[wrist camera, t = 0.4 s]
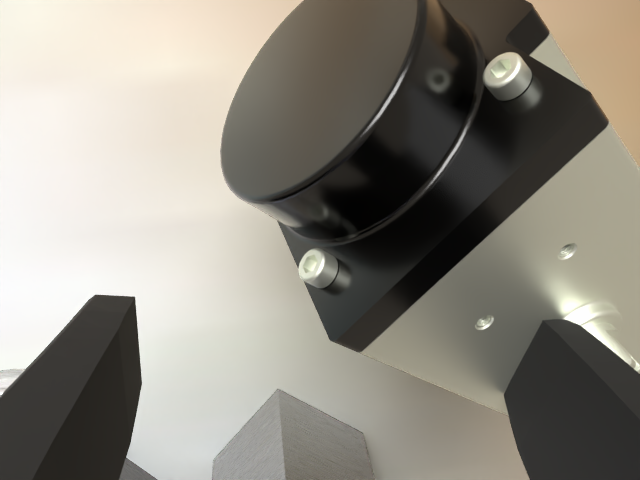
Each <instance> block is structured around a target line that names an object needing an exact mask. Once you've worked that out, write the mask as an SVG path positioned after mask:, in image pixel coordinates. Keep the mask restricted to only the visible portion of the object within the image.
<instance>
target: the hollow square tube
mask: <svg viewBox="0 0 640 480" xmlns="http://www.w3.org/2000/svg"><path fill="white" fill-rule="evenodd" d="M212 480H375V479H374V475H373V471H372V467H371V463H370V459H369V456H368V452H367V448H366V444H365V440H364V436H363V433H362V432H360V431H358V430H356V429H354V428H352V427H350V426H348V425H346V424H344V423H342V422H340V421H338V420H337V419H335V418H333V417H331V416H329V415H327V414H325V413H323V412H321V411H319V410H317V409H315V408H313V407H312V406H310V405H308V404H306V403H304V402H302V401H300V400H298V399H296V398H294V397H292V396H290V395H288V394H287V393H285V392H283V391H281V390H279V389H277V390H276V392H275V393H274V394H273V395H272V396H271V397H270V398H269V399H268V400H267V402H266V403H265V404H264V405H263V406H262V407H261V408H260V409H259V410H258V411H257V413H256V414H255V415H254V416H253V417H252V418H251V419H250V420H249V421H248V422H247V424H246V425H245V426H244V427H243V428H242V429H241V430H240V431H239V432H238V433H237V435H236V436H235V437H234V438H233V439H232V440H231V441H230V442H229V443H228V444H227V446H226V447H225V448H224V449H223V450H222V451H221V452H220V453H219V454H218V455H217V457H216V458H215V459H214V460H213V474H212Z"/></svg>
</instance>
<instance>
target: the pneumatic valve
mask: <svg viewBox="0 0 640 480" xmlns="http://www.w3.org/2000/svg"><path fill="white" fill-rule="evenodd" d="M220 155H221V168H222V172H223V176H224V179H225V181H226V184H227V185H228V187H229V188H230V190H231V191H232V192H233V193H234V194H235V195H236V196H237V197H238V198H240V199H241V200H243V201H245V202H246V203H248V204H250V205H252V206H254V207H255V208H257V209H259V210H261V211H262V212H264V213H266V214H268V215H269V216H271V217H273V218H274V219H276V220H277V221H278V223H279V226H280V228H281V230H282V232H283V235H284V237H285V239H286V242H287V244H288V246H289V248H290V251H291V253H292V255H293V257H294V260H295V262H296V264H297V267H298V269H299V276H300V278H301V279H302V280H303V281H304V282H305V285H306V287H307V289H308V292H309V294H310V296H311V298H312V301H313V303H314V305H315V307H316V310H317V312H318V314H319V316H320V319H321V321H322V323H323V326H324V328H325V330H326V332H327V335H328V337H329V339H330V340H331V341H333V342H335V343H337V344H340V345H342V346H344V347H347V348H349V349H351V350H354V351H356V352H358V353H361V354H363V355H366V356H368V357H370V358H373V359H375V360H377V361H380V362H382V363H384V364H387V365H389V366H391V367H394V368H396V369H398V370H401V371H403V372H406V373H408V374H410V375H413V376H415V377H417V378H420V379H422V380H424V381H427V382H429V383H431V384H434V385H436V386H439V387H441V388H443V389H446V390H448V391H450V392H453V393H455V394H457V395H460V396H462V397H464V398H467V399H469V400H471V401H474V402H476V403H479V404H481V405H483V406H486V407H488V408H490V409H493V410H495V411H497V412H500V413H502V414H504V415H507V416H509V415H508V411H507V407H506V403H505V399H504V393H505V391H506V389H507V387H508V385H509V383H510V380H511V379H512V377H513V375H514V373H515V371H516V369H517V367H518V366H519V364H520V362H521V360H522V358H523V356H524V354H525V353H526V351H527V349H528V347H529V345H530V343H531V341H532V339H533V338H534V336H535V334H536V332H537V330H538V328H539V326H540V325H541V323H542V321H543V320H551V319H566V320H569V321H571V322H574V323H576V324H579V325H580V326H582V327H583V328H584V329H586V330H587V331H588V332H590V333H591V334H592V335H593V336H595V337H596V338H597V339H598V340H600V341H601V342H602V343H603V344H605V345H606V346H607V347H608V348H609V349H611V350H612V351H613V352H614V353H616V354H617V355H618V356H619V357H620V358H622V359H623V360H624V361H625V362H626V363H628V364H629V365H630V366H631V367H632V368H633V369H635V370H636V371H637V372H638V373H639V374H640V167H639V166H638V164H637V163H636V161H635V160H634V158H633V157H632V155H631V154H630V152H629V151H628V149H627V148H626V146H625V144H624V143H623V141H622V140H621V138H620V137H619V135H618V134H617V132H616V131H615V129H614V128H613V126H612V125H611V123H610V121H609V120H608V118H607V117H606V115H605V114H604V112H603V111H602V109H601V108H600V106H599V105H598V103H597V102H596V100H595V98H594V97H593V95H592V94H591V92H589V91H588V89H587V88H586V86H585V85H584V83H583V81H582V80H581V78H580V77H579V75H578V74H577V72H576V71H575V69H574V68H573V66H572V65H571V63H570V62H569V60H568V59H567V57H566V55H565V54H564V52H563V51H562V49H561V48H560V46H559V45H558V43H557V42H556V40H555V39H554V37H553V36H552V34H551V33H550V31H549V30H548V28H547V26H546V25H545V23H544V22H543V20H542V19H541V17H540V16H539V14H538V13H537V11H536V10H535V8H534V7H533V5H532V4H531V3H529V2H527V1H525V0H304V1H303V2H302V3H300V4H299V5H298V6H297V7H296V8H295V9H294V10H293V11H292V12H291V13H290V14H289V15H288V16H287V17H286V19H285V20H284V21H283V22H282V23H281V24H280V25H279V26H278V28H277V29H276V30H275V31H274V32H273V34H272V35H271V36H270V38H269V39H268V40H267V41H266V43H265V44H264V46H263V47H262V48H261V50H260V51H259V53H258V54H257V56H256V57H255V59H254V61H253V62H252V64H251V65H250V67H249V69H248V70H247V72H246V74H245V76H244V78H243V80H242V82H241V83H240V85H239V87H238V89H237V92H236V94H235V96H234V98H233V101H232V103H231V106H230V109H229V111H228V115H227V118H226V121H225V125H224V129H223V134H222V141H221V150H220Z"/></svg>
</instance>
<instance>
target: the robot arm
mask: <svg viewBox="0 0 640 480" xmlns="http://www.w3.org/2000/svg"><path fill="white" fill-rule="evenodd" d="M141 385H142V380H141V367H140V355H139V342H138V330H137V317H136V305H135V297H128V296H109V295H95V296H93V297H92V298H91V299H89V300H88V301H87V303H86V304H85V305H84V306H83V307H82V308H81V309H80V311H79V312H78V313H77V314H76V315H75V316H74V317H73V319H72V320H71V321H70V322H69V323H68V324H67V325H66V326H65V328H64V329H63V330H62V331H61V332H60V333H59V334H58V335H57V336H56V338H55V339H54V340H53V341H52V342H51V343H50V344H49V345H48V346H47V347H46V348H45V349H44V351H43V352H42V353H41V354H40V355H39V356H38V357H37V358H36V359H35V360H34V361H33V362H32V363H31V364H30V365H29V366H28V367H27V368H26V369H25V371H24V372H23V373H22V374H21V375H20V376H19V377H18V378H17V379H16V380H15V381H14V382H13V383H12V384H11V385H10V386H9V387H8V388H7V389H6V390H5V391H4V392H3V393H2V394H1V395H0V480H119V478H120V475H121V472H122V468H123V465H124V462H125V459H126V455H127V452H128V449H129V445H130V442H131V437H132V432H133V427H134V422H135V417H136V412H137V406H138V401H139V396H140V390H141ZM504 399H505V403H506V407H507V411H508V415H509V419H510V423H511V427H512V430H513V434H514V437H515V441H516V444H517V448H518V451H519V453H520V456H521V459H522V461H523V464H524V466H525V469H526V471H527V474H528V476H529V478H530V480H640V374H639V373H638V372H637V371H636V370H635V369H633V368H632V367H631V366H630V365H629V364H628V363H626V362H625V361H624V360H623V359H622V358H620V357H619V356H618V355H617V354H616V353H614V352H613V351H612V350H611V349H609V348H608V347H607V346H606V345H605V344H603V343H602V342H601V341H600V340H598V339H597V338H596V337H595V336H593V335H592V334H591V333H590V332H588V331H587V330H586V329H584V328H583V327H582V326H580V325H579V324H576V323H574V322H571V321H569V320H566V319H551V320H543V321H542V323H541V325H540V326H539V328H538V330H537V332H536V334H535V336H534V338H533V339H532V341H531V343H530V345H529V347H528V349H527V351H526V353H525V354H524V356H523V358H522V360H521V362H520V364H519V366H518V367H517V369H516V371H515V373H514V375H513V377H512V379H511V380H510V383H509V385H508V387H507V389H506V391H505V393H504Z"/></svg>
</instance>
